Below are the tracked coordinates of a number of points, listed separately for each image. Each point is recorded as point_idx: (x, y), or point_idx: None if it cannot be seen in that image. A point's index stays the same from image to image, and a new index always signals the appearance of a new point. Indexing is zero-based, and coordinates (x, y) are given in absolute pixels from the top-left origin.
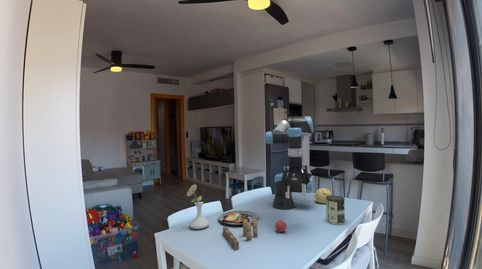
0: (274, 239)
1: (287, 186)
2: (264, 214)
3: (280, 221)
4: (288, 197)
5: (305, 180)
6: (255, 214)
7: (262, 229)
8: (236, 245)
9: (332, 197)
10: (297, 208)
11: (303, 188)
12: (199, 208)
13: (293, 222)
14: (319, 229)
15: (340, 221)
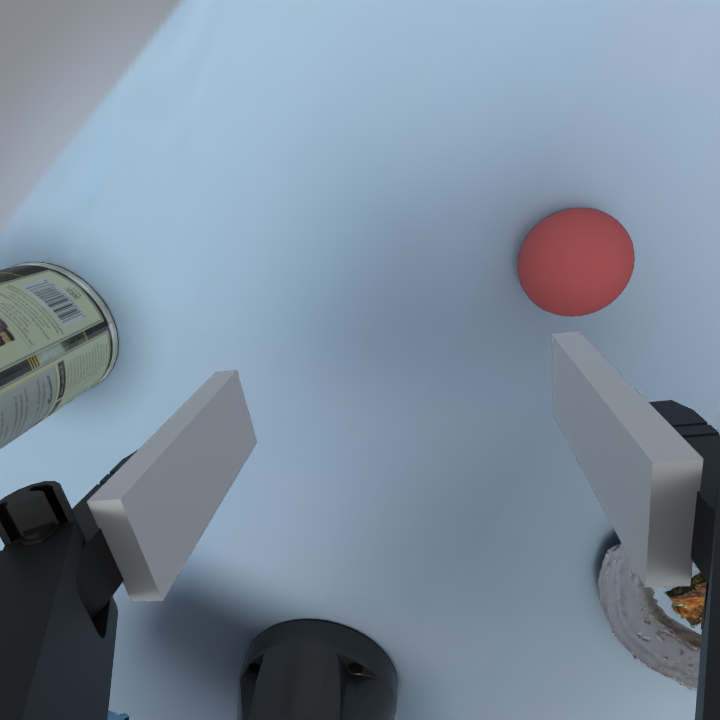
0: (704, 102)
1: (694, 481)
2: (520, 594)
3: (602, 257)
4: (577, 338)
5: (6, 595)
6: (614, 593)
7: (688, 339)
8: None
9: None
10: (239, 616)
11: (192, 474)
12: None
13: (374, 399)
14: (230, 213)
15: (18, 267)
